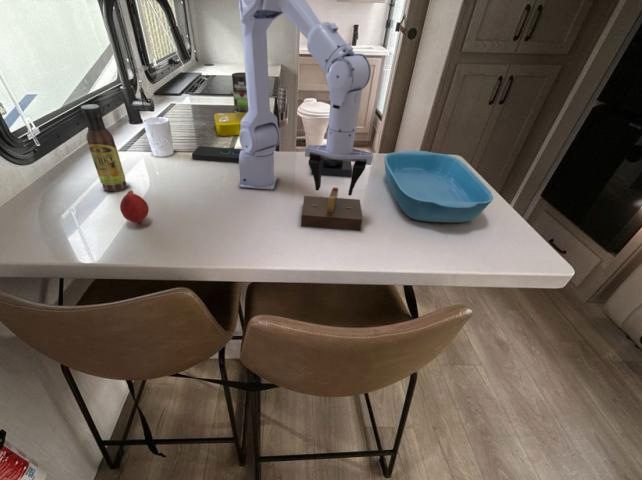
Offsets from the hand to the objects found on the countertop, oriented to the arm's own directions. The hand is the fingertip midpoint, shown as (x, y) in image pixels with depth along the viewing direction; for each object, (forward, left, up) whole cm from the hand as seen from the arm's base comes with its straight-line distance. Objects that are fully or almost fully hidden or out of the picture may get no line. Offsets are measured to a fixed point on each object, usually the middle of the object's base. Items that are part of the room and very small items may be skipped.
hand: (333, 191), depth 77 cm
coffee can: (-39, +91, -7) cm, 99 cm away
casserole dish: (+26, +15, -7) cm, 31 cm away
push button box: (0, +30, -7) cm, 31 cm away
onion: (-45, -9, -7) cm, 46 cm away
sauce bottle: (-59, +8, -7) cm, 60 cm away
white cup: (-56, +35, -7) cm, 66 cm away
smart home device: (-35, +35, -7) cm, 50 cm away
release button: (0, +30, -3) cm, 30 cm away
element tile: (-38, +64, -7) cm, 75 cm away
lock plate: (0, 0, -7) cm, 7 cm away
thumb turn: (0, 0, -4) cm, 4 cm away
